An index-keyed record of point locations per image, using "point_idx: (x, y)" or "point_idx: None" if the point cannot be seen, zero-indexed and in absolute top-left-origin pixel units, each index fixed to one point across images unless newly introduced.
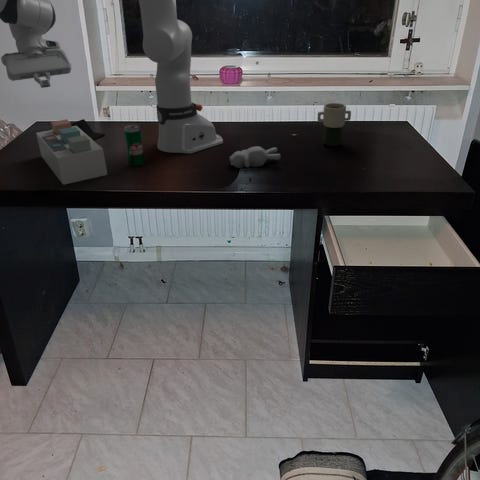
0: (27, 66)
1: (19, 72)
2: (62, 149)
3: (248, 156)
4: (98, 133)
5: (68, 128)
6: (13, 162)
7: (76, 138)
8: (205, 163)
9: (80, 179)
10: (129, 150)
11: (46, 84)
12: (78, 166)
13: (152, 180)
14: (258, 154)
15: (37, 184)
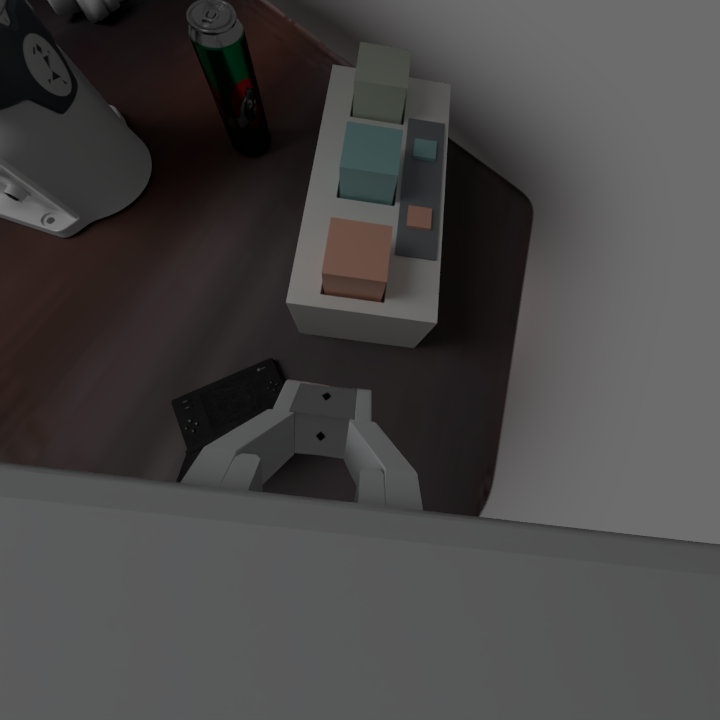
0: (563, 689)
1: (664, 552)
2: (421, 119)
3: None
4: (184, 420)
5: (365, 166)
6: (489, 356)
7: (386, 70)
8: (140, 58)
9: None
10: (259, 92)
11: (322, 385)
12: None
13: (280, 65)
14: None
15: (471, 188)
